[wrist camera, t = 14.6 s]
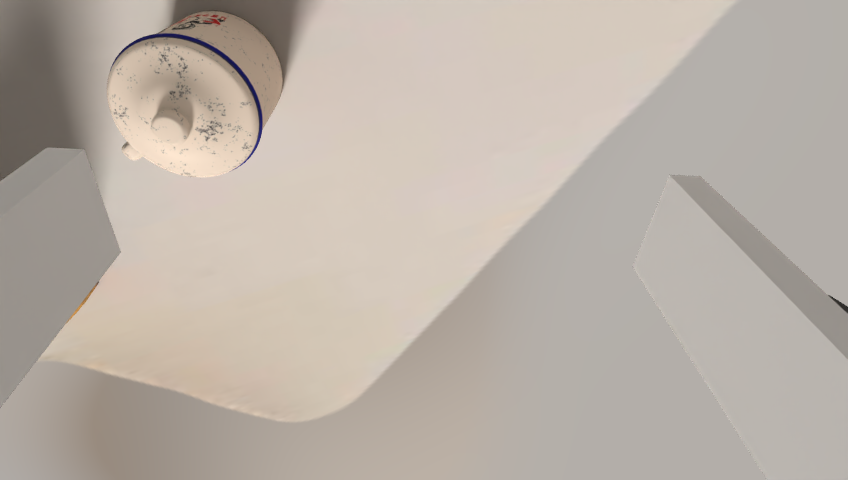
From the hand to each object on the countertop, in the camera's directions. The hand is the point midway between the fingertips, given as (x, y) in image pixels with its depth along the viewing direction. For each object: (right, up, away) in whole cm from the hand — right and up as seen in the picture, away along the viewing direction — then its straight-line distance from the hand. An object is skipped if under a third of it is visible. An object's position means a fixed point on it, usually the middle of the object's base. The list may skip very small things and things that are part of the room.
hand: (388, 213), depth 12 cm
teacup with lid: (-15, +12, +26) cm, 33 cm away
